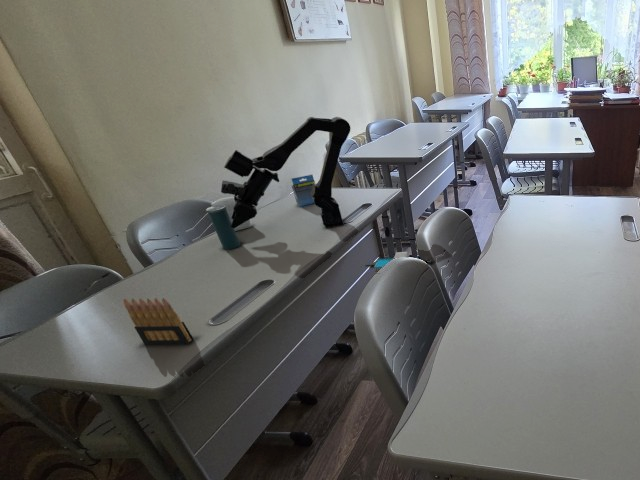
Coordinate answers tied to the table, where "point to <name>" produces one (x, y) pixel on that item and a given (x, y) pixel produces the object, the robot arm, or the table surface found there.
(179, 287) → the table surface
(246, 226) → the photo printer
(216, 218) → the tin
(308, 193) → the label tape box
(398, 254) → the phone stand
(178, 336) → the ammunition clip
